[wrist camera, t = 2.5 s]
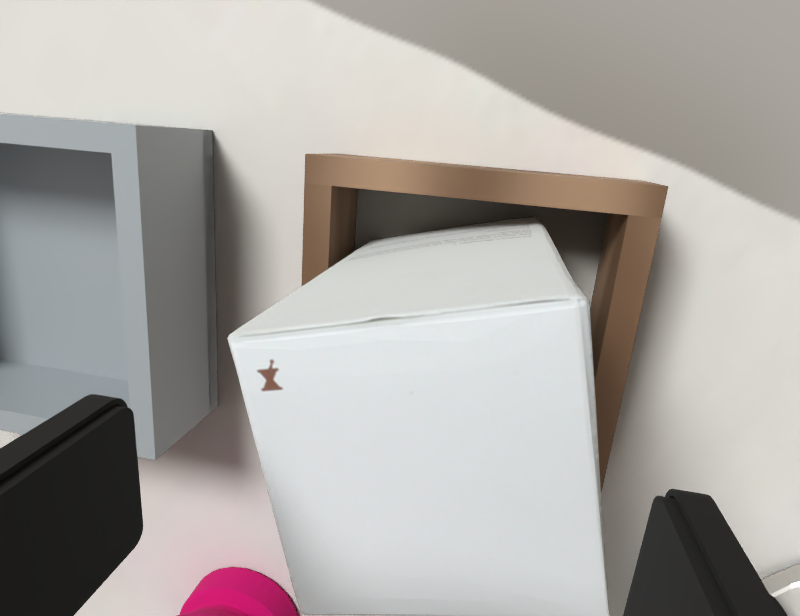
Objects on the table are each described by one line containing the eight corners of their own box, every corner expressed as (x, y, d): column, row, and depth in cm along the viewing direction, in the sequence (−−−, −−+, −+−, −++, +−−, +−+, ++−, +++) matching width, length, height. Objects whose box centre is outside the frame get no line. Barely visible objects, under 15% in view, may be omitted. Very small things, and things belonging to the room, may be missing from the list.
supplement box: (394, 396, 25) (287, 623, 13) (367, 236, 23) (212, 327, 11) (562, 385, 23) (616, 634, 11) (546, 212, 21) (590, 288, 9)
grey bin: (212, 130, 23) (135, 125, 18) (218, 406, 27) (155, 460, 22) (-46, 108, 25) (-175, 99, 20) (-7, 366, 29) (-108, 408, 24)
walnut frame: (642, 180, 20) (668, 186, 17) (585, 459, 24) (597, 509, 20) (335, 153, 22) (305, 153, 19) (324, 415, 26) (297, 453, 22)
